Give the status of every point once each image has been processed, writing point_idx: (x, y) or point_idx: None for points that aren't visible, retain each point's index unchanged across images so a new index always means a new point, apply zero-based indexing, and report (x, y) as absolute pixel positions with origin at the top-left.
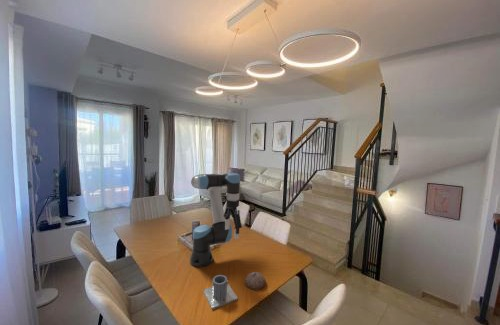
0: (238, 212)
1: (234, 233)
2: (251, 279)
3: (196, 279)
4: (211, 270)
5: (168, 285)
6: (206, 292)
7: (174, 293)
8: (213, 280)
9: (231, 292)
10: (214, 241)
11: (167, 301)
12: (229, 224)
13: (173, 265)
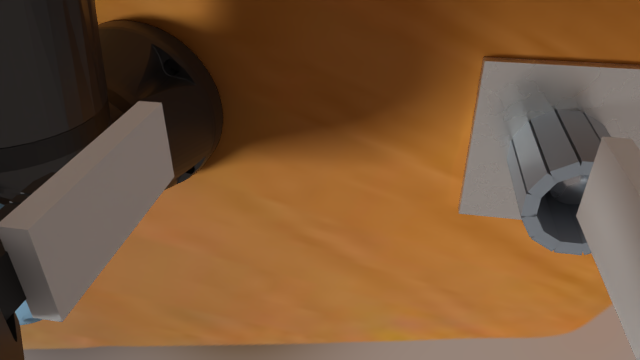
0: None
1: (612, 288)
2: None
3: (334, 198)
4: (287, 89)
5: (315, 310)
6: (493, 208)
7: (387, 308)
8: (558, 247)
9: (608, 84)
10: (104, 107)
11: (422, 339)
12: (113, 150)
13: (152, 251)
